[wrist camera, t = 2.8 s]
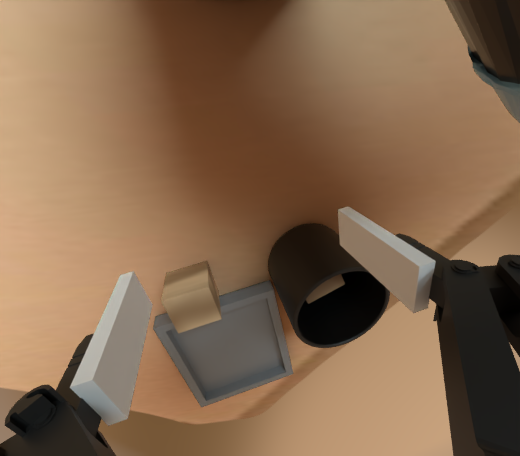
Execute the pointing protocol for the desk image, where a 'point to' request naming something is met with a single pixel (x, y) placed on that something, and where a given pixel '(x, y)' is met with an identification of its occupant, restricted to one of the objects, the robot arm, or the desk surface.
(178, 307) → the oak block
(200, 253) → the desk surface
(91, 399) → the robot arm
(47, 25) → the desk surface
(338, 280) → the walnut block
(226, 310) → the tray
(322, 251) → the mug
